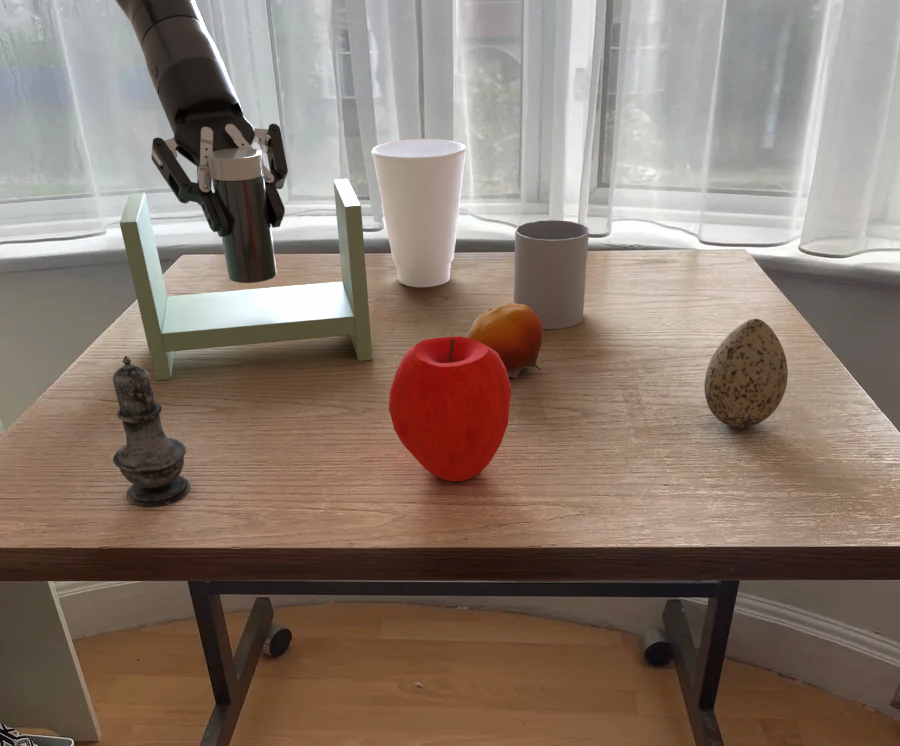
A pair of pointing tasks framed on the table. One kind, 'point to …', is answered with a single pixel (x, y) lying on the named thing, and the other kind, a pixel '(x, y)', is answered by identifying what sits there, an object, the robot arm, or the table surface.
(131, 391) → the salt shaker
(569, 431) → the table surface
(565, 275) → the cup
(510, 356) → the fruit
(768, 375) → the decorative egg
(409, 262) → the cup
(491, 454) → the apple
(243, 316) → the shelf
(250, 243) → the tumbler
